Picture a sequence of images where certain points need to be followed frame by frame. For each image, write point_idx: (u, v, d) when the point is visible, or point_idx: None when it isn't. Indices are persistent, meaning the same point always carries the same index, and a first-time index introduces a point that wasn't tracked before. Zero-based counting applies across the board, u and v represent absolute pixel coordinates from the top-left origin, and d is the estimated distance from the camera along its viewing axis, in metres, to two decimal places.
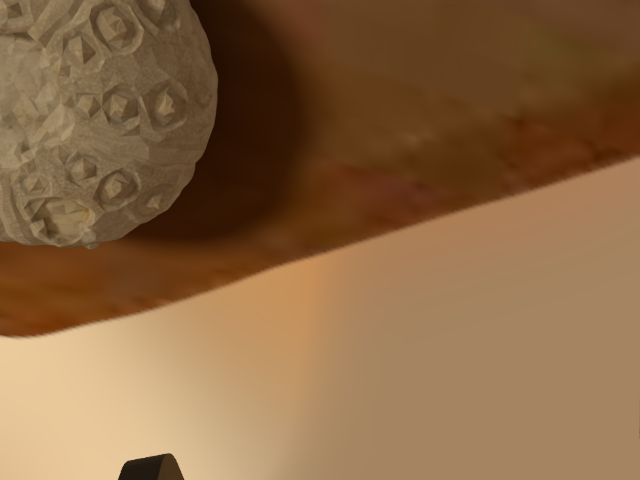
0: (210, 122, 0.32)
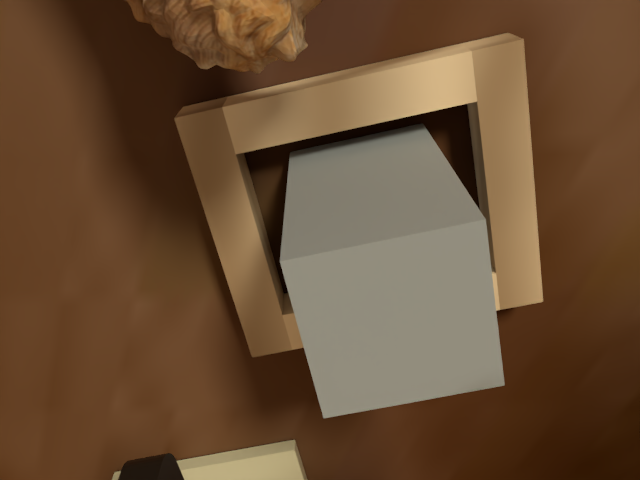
0: None
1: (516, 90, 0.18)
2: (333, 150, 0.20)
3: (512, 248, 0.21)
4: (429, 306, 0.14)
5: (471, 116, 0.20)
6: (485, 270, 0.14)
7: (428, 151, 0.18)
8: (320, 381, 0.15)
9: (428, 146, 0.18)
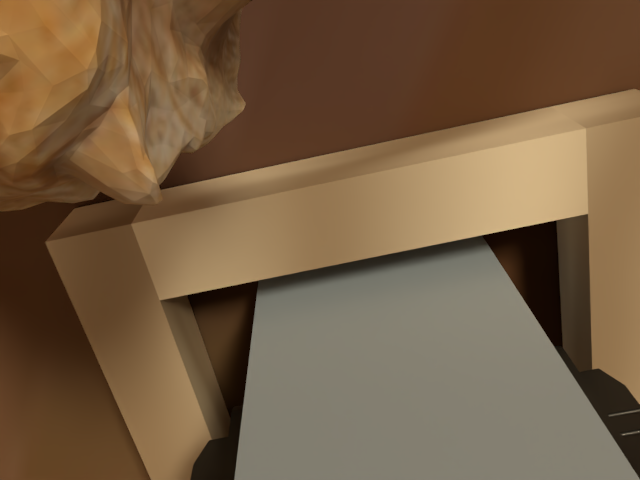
0: None
1: None
2: (332, 283, 0.12)
3: None
4: None
5: (565, 227, 0.12)
6: None
7: (510, 316, 0.09)
8: None
9: (506, 300, 0.10)
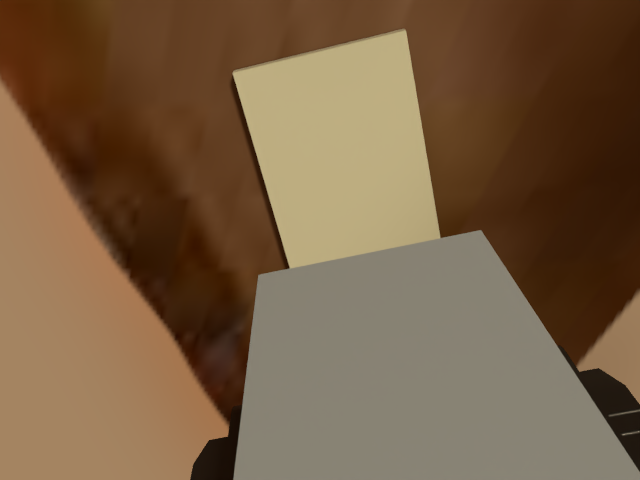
0: None
1: None
2: (332, 280, 0.12)
3: None
4: None
5: None
6: None
7: (511, 313, 0.09)
8: None
9: (507, 296, 0.10)
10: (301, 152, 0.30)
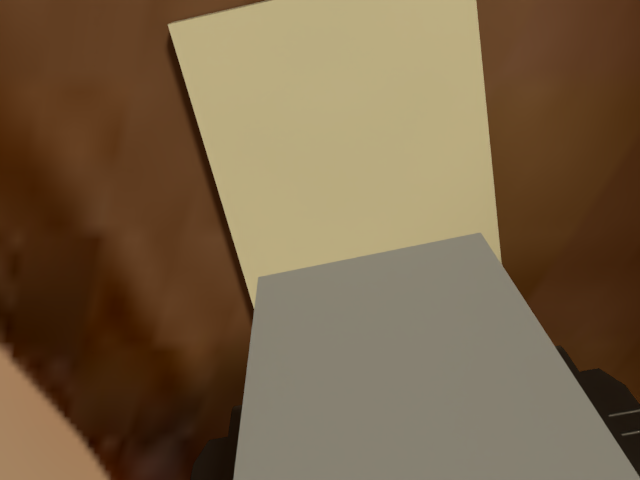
0: None
1: None
2: (331, 282, 0.12)
3: None
4: None
5: None
6: None
7: (510, 316, 0.09)
8: None
9: (506, 299, 0.10)
10: (286, 164, 0.18)
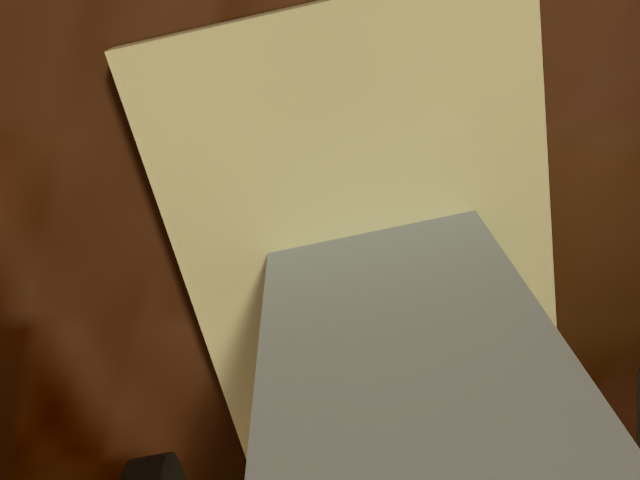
0: None
1: None
2: (336, 256, 0.12)
3: None
4: None
5: None
6: None
7: (502, 281, 0.10)
8: None
9: (498, 267, 0.11)
10: (273, 238, 0.13)
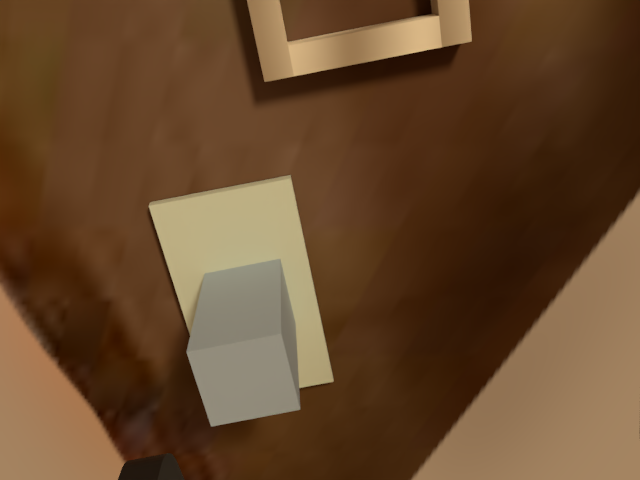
0: None
1: None
2: (228, 275, 0.35)
3: None
4: (259, 372, 0.29)
5: None
6: (284, 356, 0.29)
7: (274, 283, 0.33)
8: (208, 408, 0.30)
9: (276, 279, 0.33)
10: (206, 268, 0.36)
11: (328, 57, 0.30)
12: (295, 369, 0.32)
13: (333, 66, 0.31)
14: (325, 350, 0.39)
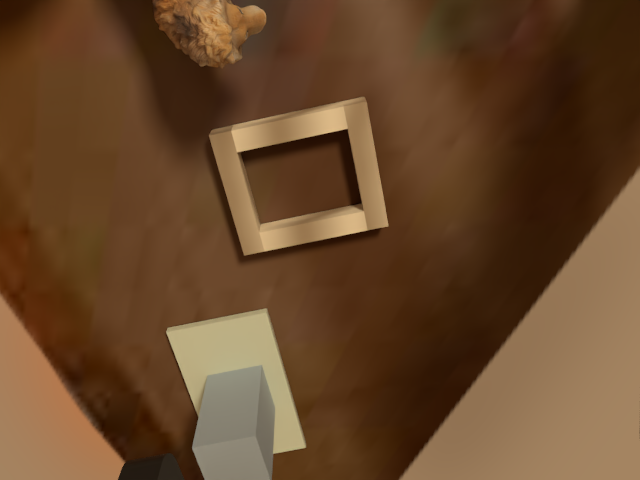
0: None
1: (365, 123, 0.40)
2: (224, 378, 0.49)
3: (370, 198, 0.42)
4: (241, 459, 0.43)
5: None
6: (258, 449, 0.42)
7: (255, 389, 0.47)
8: None
9: (256, 385, 0.47)
10: (208, 371, 0.49)
11: (288, 239, 0.44)
12: (269, 452, 0.45)
13: (291, 244, 0.44)
14: (298, 426, 0.52)
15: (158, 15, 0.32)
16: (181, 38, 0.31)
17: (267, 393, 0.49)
